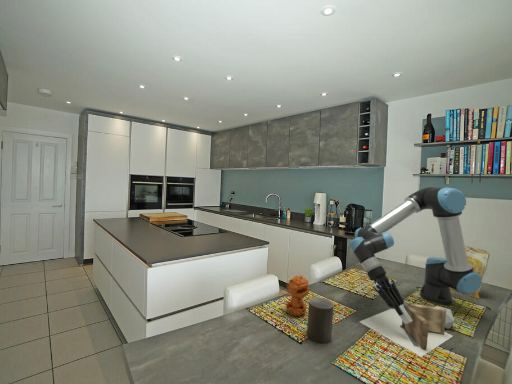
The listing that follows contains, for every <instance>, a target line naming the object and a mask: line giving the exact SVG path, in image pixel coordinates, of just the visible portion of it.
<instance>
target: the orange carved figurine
mask: <svg viewBox="0 0 512 384" xmlns="http://www.w3.org/2000/svg"><path fill="white" fill-rule="evenodd" d="M310 290H311V288H310V287H309V280H308V279H307V278H305V277H304V275H302V274H301V275H299V276H298V275H295V276H294V275H293V277H292V278H291V279H289V280H288V281H287V283H286V291H287V293H289V294H290V296H291V298H290V300H289V301H287V303H286V306H285V307H286V310H285V311H289V313H290V314H291V315H292V316H296V317H299V316H300V317H301V316H302V315H306V313H307V312H308V311H307V305H306V304H305V303H304V302H305V301H303V299H304V298H305V297H307V296H308V294H309V292H310Z"/></svg>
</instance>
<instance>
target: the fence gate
mask: <svg viewBox="0 0 512 384" xmlns="http://www.w3.org/2000/svg"><path fill="white" fill-rule="evenodd" d="M406 311H407V313H408V314H409V316H410V317H411V319H412V320H413V321H411V322H409V323H407V324H405V329H406V330H407V331H408V333H409V334H410V335H411V336H412V337H413V338H414V339H415V341H416V342H417V343H418V344H419V345H420V347H421V348H422V349H424V350H426V349H427V338H428V327H429V323H428V322H427V320H425V319H424V318H423V317H422V316H421V315H420V314H419V313H418V312H417V311H416V310H415V309H413V308H412V307H411V306H406Z"/></svg>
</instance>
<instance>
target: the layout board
mask: <svg viewBox="0 0 512 384" xmlns="http://www.w3.org/2000/svg"><path fill="white" fill-rule="evenodd" d="M358 322H359V323H360V324H362V325H364V326H366V327H368V328H369V329H371V330H373V331H375V332H377V333H378V334H380V335H381V336H383V337H385V338H386V339H389V340H390V341H392V342H394V343H396V344H398V345H399V346H401V347H403V348H404V349H406V350H408V351H410V352H411V353H413V354H415V355H417V356H419V359H423V358H422V357H423V356H426V355H427V354H428V353H430V352H431V351H433V350H434V349H436V348H437V347H439V346H440V345H442V344H443V343H446V342H447V341H448V340H449V339H451V338H453V337H454V336H453V335H452V334H449V333H448V332H446V331H444V335H442V334H440V333H438V332H432V331H428V338H427V349H426V350H424V349H422V348H421V347H420V345H419V344H418V343H417V342H416V341H415V339H414V338H413V337H412V336H411V335H410V334H409V333H408V331H407V330H406V329H405V328H403V327H402V319H401V317H400V316H399V315H398V313H397V312H396V310H395V309H392V308H389V309H387V310H384V311H382V312H380V313H377V314H374V315H372V316H370V317H367V318H365V319H362V320H360V321H358Z"/></svg>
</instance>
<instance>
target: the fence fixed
mask: <svg viewBox="0 0 512 384" xmlns="http://www.w3.org/2000/svg"><path fill="white" fill-rule="evenodd" d="M406 306H411V307H412V308H413V309H415V310H416V311H417V312H418V313H419V314H420V315H421V316H422V317H423V318H424V319H425V320H427V322H428V323H429V327H428V331H432V332H438V333H440V334H442V335H444V332H446V331H445V329H446V328H445V320H446V309H447V308H446V309H444V308H445V307H443V308H438V307H436V306H430V305H422V304H415V303H408V302H404V304H403V307H404V308H405V310H406ZM402 327H403V328H405V324H404V322H403V321H402Z"/></svg>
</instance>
